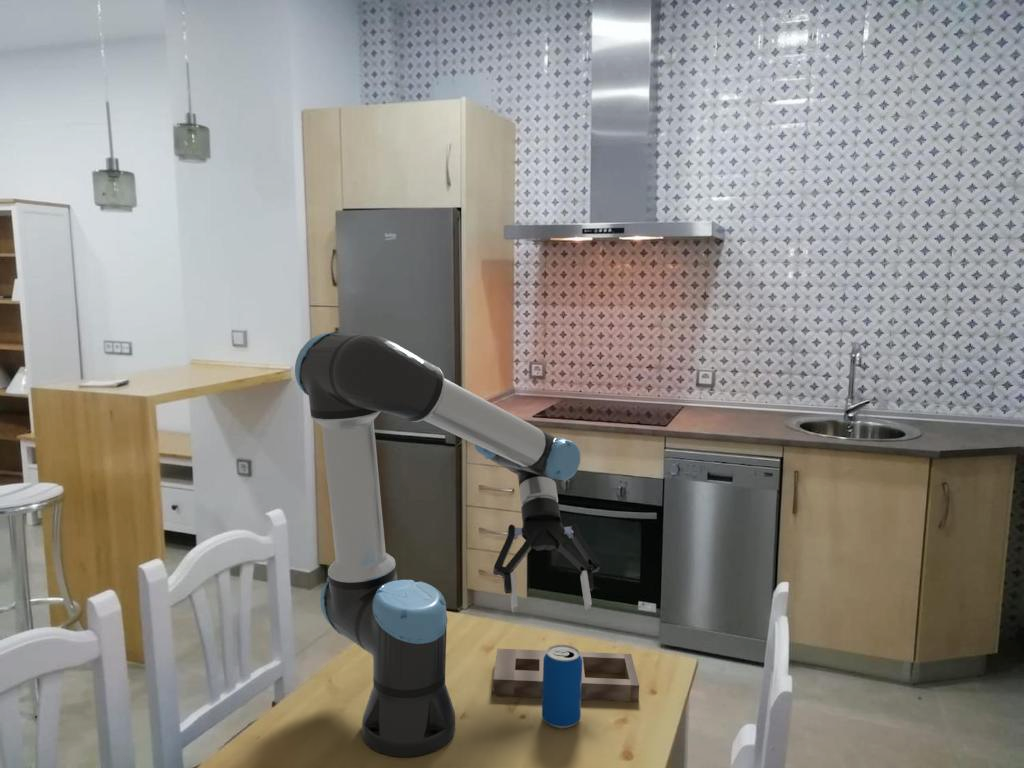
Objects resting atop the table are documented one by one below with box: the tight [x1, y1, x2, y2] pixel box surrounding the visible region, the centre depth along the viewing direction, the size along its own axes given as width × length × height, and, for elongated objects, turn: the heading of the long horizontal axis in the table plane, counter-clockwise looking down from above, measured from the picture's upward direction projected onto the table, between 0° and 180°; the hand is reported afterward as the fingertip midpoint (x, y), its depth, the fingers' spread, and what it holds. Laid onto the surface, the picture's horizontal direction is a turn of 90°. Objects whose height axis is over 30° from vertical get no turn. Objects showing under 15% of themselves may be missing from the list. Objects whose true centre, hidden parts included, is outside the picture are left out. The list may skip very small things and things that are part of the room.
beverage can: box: [541, 644, 582, 729], centre depth 125 cm, size 6×6×12 cm
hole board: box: [492, 648, 640, 702], centre depth 139 cm, size 26×12×3 cm, turn 88°
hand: (551, 608), depth 135 cm, fingers open, 13 cm apart
